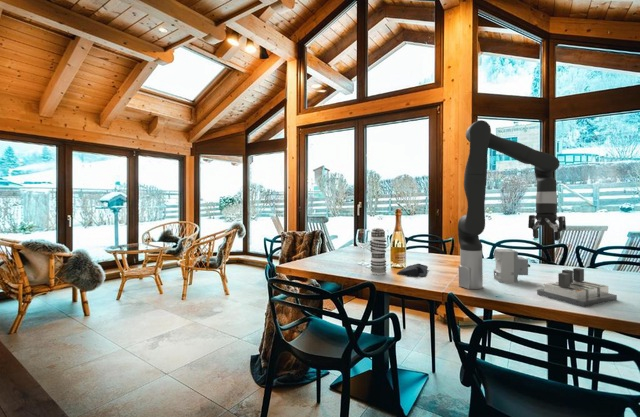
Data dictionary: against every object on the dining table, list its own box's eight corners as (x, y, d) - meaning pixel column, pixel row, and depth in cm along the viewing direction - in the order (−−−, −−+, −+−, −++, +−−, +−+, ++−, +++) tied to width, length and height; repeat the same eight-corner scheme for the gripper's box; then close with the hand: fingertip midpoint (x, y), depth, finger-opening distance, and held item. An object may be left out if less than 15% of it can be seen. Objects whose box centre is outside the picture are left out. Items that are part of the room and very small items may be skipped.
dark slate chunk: (432, 270, 181) (432, 262, 181) (424, 278, 162) (424, 269, 162) (405, 267, 189) (405, 260, 189) (395, 275, 170) (395, 267, 170)
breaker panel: (583, 307, 115) (583, 279, 114) (537, 294, 131) (537, 270, 130) (616, 300, 122) (616, 273, 121) (569, 288, 138) (568, 265, 137)
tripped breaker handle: (564, 287, 122) (564, 274, 122) (558, 285, 124) (558, 273, 124) (569, 286, 123) (569, 273, 123) (563, 285, 125) (563, 272, 125)
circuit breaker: (532, 283, 148) (531, 251, 148) (499, 282, 151) (498, 251, 151) (525, 279, 155) (524, 249, 155) (493, 278, 158) (493, 248, 158)
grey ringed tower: (390, 273, 174) (389, 228, 174) (378, 275, 169) (377, 229, 168) (378, 270, 182) (378, 227, 181) (366, 272, 176) (366, 228, 176)
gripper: (524, 202, 141) (524, 238, 142) (558, 202, 128) (558, 241, 129) (535, 202, 144) (535, 237, 145) (570, 202, 131) (569, 240, 131)
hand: (546, 239), depth 137 cm, fingers open, 8 cm apart
